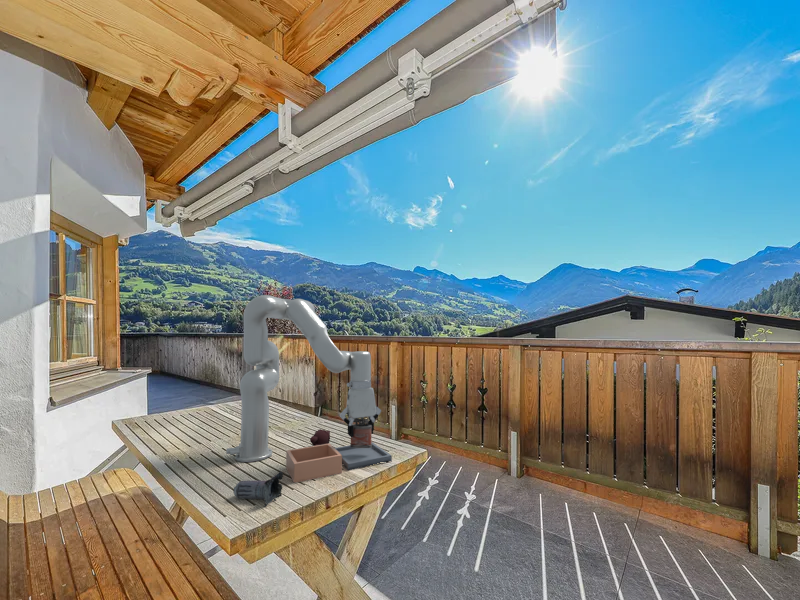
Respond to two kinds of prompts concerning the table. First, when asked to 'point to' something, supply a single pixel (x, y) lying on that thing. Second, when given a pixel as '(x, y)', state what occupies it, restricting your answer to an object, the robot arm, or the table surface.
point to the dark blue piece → (260, 489)
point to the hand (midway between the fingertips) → (360, 434)
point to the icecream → (320, 437)
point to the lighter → (361, 434)
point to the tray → (362, 456)
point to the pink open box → (313, 462)
